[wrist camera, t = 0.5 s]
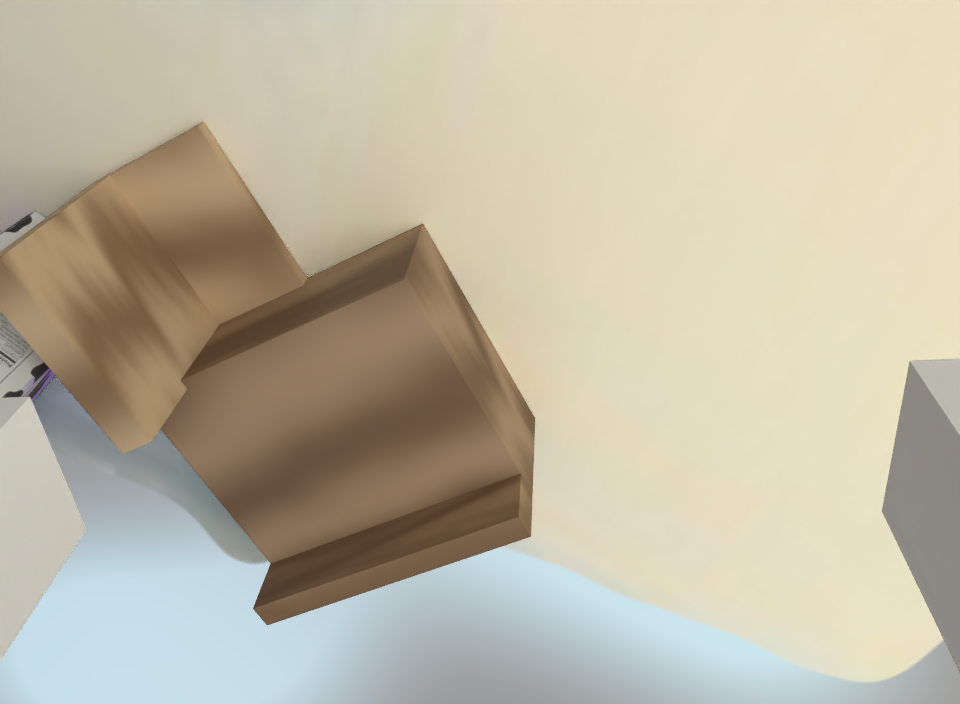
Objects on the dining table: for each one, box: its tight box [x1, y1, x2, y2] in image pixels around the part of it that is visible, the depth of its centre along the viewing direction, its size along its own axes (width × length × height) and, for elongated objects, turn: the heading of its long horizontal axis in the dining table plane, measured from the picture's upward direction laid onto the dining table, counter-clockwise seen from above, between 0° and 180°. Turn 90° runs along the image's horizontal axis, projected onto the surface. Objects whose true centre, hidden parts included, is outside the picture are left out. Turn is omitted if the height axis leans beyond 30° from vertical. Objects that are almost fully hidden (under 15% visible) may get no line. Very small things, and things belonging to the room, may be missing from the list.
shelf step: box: [161, 224, 535, 625], centre depth 41 cm, size 12×14×9 cm
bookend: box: [0, 122, 307, 454], centre depth 37 cm, size 9×6×10 cm
